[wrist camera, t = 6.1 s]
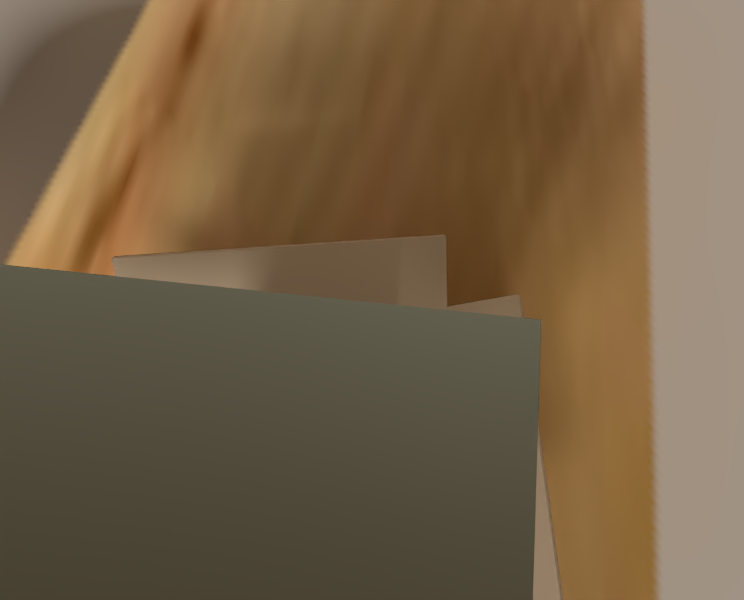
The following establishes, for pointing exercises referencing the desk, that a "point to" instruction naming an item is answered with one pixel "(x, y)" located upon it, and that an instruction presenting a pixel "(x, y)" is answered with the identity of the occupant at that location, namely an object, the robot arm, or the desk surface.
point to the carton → (359, 283)
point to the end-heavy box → (260, 445)
